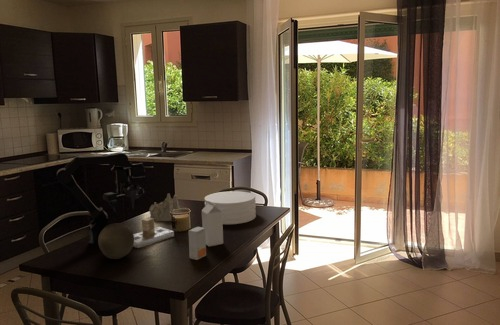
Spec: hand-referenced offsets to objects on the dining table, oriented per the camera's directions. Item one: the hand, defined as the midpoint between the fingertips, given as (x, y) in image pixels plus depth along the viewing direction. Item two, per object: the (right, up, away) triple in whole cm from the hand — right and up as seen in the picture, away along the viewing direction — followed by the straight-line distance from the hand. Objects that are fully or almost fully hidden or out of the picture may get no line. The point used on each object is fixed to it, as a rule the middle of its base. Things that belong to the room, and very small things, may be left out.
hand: (125, 211), depth 188 cm
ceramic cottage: (+12, -8, +35) cm, 38 cm away
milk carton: (+43, -14, -9) cm, 46 cm away
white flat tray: (+12, -13, -2) cm, 18 cm away
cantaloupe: (+5, -17, -24) cm, 30 cm away
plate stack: (+49, -7, +32) cm, 59 cm away
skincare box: (+38, -16, -25) cm, 48 cm away
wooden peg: (+12, -13, -2) cm, 18 cm away
